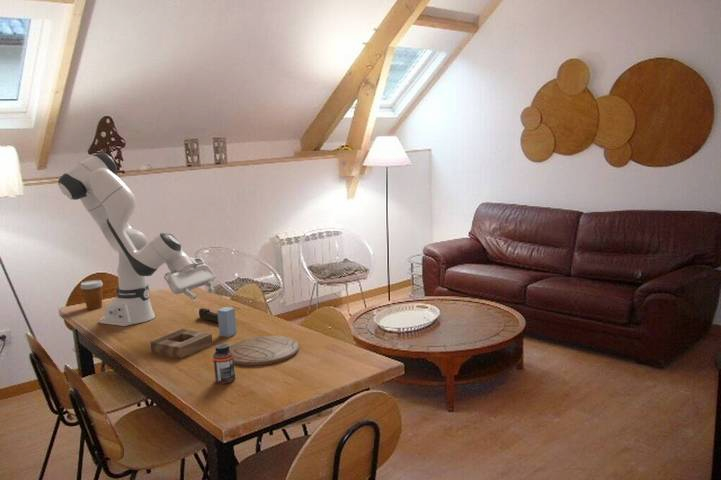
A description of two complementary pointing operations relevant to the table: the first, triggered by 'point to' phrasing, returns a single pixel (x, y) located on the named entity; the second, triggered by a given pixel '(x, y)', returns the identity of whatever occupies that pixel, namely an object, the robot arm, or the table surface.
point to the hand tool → (208, 315)
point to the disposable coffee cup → (92, 293)
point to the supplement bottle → (223, 364)
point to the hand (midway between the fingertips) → (203, 295)
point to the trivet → (263, 350)
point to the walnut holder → (181, 343)
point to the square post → (226, 321)
